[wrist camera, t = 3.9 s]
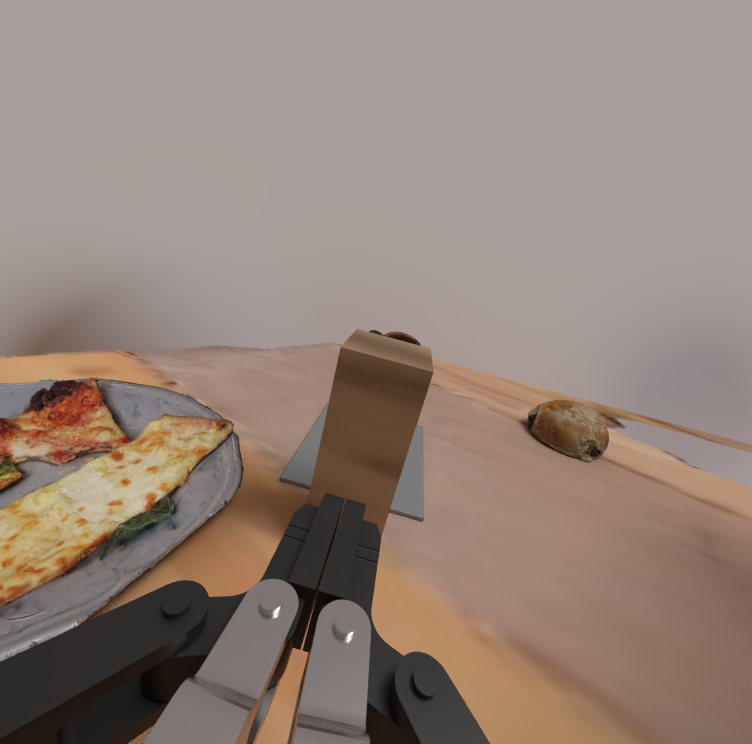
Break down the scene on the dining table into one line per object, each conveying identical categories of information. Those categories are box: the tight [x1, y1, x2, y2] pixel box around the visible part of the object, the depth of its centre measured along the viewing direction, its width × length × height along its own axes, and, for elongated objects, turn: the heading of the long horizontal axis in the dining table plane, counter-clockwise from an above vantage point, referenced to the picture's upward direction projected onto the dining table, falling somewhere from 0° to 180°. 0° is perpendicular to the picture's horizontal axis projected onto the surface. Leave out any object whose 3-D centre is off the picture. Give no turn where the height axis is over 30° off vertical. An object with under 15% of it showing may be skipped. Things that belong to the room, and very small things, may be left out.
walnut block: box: [307, 329, 433, 536], centre depth 23 cm, size 5×5×14 cm
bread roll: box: [528, 400, 609, 462], centre depth 49 cm, size 10×10×8 cm
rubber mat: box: [280, 403, 424, 521], centre depth 35 cm, size 16×12×1 cm
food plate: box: [0, 377, 244, 662], centre depth 22 cm, size 25×23×4 cm
